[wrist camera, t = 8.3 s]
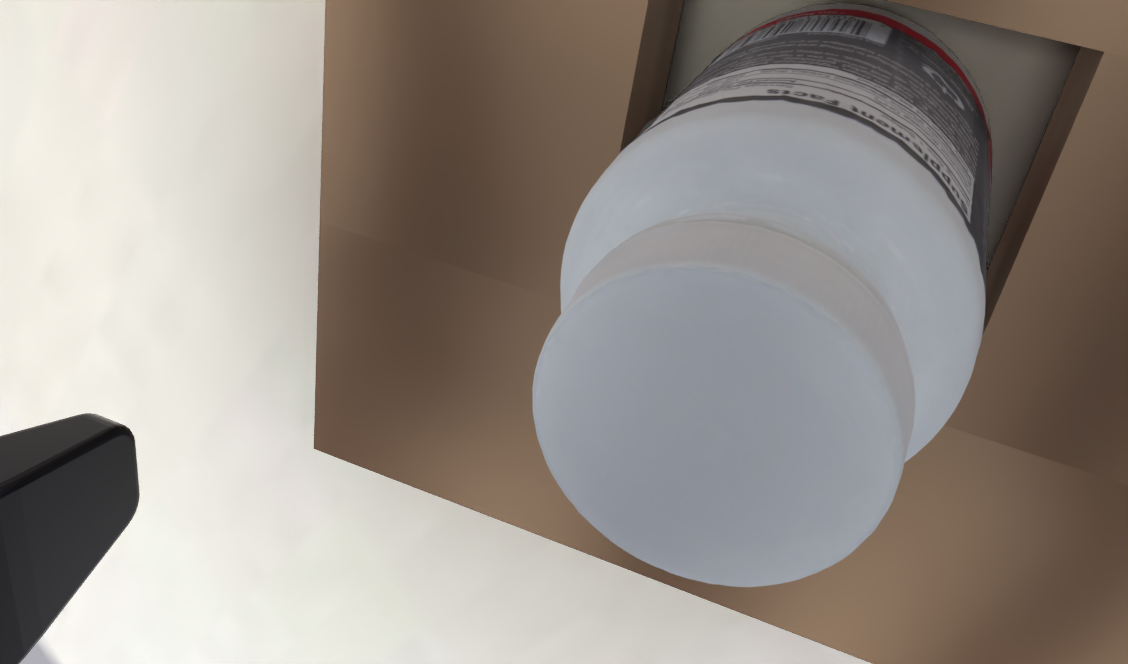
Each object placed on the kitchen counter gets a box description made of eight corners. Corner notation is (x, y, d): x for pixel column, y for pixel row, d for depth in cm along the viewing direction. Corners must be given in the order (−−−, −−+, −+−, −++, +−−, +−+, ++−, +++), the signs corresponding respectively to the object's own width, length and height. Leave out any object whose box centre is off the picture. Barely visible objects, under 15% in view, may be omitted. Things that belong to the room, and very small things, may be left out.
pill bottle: (883, 335, 20) (795, 716, 12) (644, 197, 21) (407, 475, 13) (1064, 94, 17) (1105, 390, 9) (778, -62, 18) (577, 88, 10)
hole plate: (1819, -365, 12) (1984, -390, 10) (1138, 674, 21) (1150, 770, 19) (426, -541, 16) (340, -584, 14) (370, 393, 26) (313, 448, 24)
